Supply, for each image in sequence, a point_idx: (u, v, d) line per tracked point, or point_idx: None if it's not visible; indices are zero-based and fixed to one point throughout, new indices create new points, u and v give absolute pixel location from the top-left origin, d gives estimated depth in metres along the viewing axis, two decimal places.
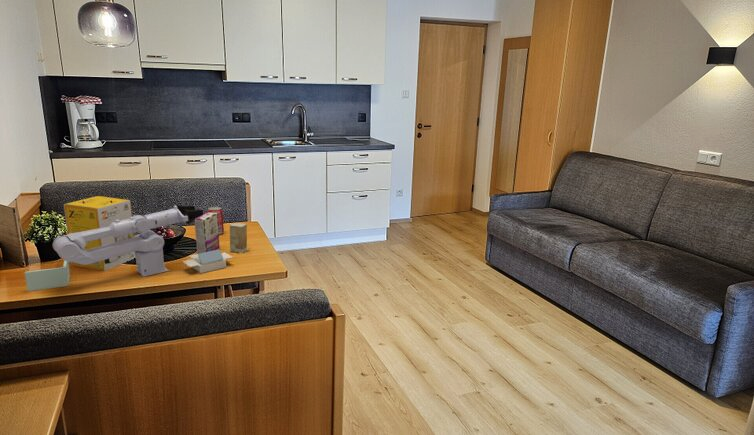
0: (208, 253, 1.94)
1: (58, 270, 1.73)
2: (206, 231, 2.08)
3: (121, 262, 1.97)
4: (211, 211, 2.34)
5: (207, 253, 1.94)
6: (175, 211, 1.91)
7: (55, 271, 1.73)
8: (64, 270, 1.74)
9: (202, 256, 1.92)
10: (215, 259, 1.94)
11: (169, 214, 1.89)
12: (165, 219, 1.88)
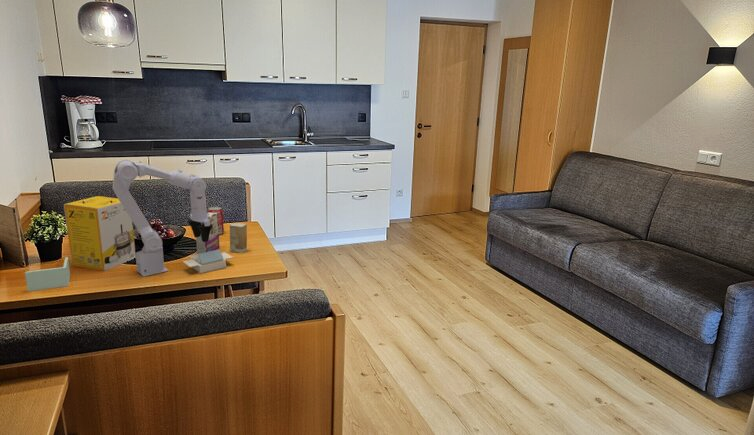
0: (208, 253, 1.94)
1: (58, 270, 1.73)
2: None
3: (121, 262, 1.97)
4: (211, 211, 2.34)
5: (207, 253, 1.94)
6: (206, 216, 1.96)
7: (55, 271, 1.72)
8: (64, 270, 1.74)
9: (202, 256, 1.92)
10: (215, 259, 1.94)
11: (205, 210, 1.95)
12: (201, 206, 1.93)
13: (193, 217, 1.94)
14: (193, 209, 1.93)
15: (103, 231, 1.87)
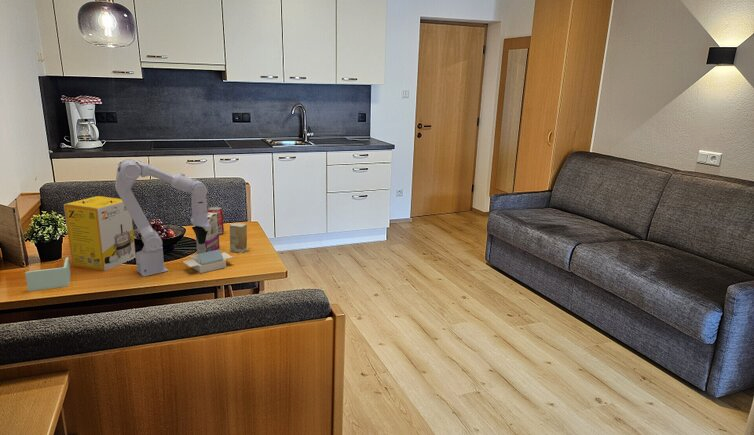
0: (208, 253, 1.94)
1: (58, 270, 1.73)
2: None
3: (121, 262, 1.97)
4: (211, 211, 2.34)
5: (207, 253, 1.94)
6: (207, 220, 1.97)
7: (55, 271, 1.72)
8: (64, 270, 1.74)
9: (202, 256, 1.92)
10: (215, 259, 1.94)
11: (206, 214, 1.95)
12: (201, 211, 1.93)
13: (194, 221, 1.94)
14: (194, 214, 1.93)
15: (103, 231, 1.87)
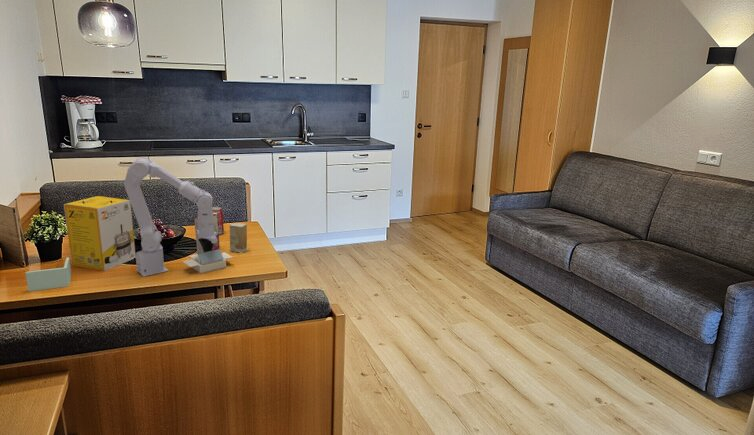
0: (208, 253, 1.94)
1: (59, 270, 1.73)
2: None
3: (121, 262, 1.97)
4: None
5: (207, 253, 1.94)
6: (213, 232, 1.94)
7: (56, 271, 1.72)
8: (65, 270, 1.74)
9: (202, 256, 1.92)
10: (215, 259, 1.94)
11: (212, 226, 1.93)
12: (206, 223, 1.90)
13: (200, 234, 1.91)
14: (200, 226, 1.90)
15: (103, 231, 1.87)
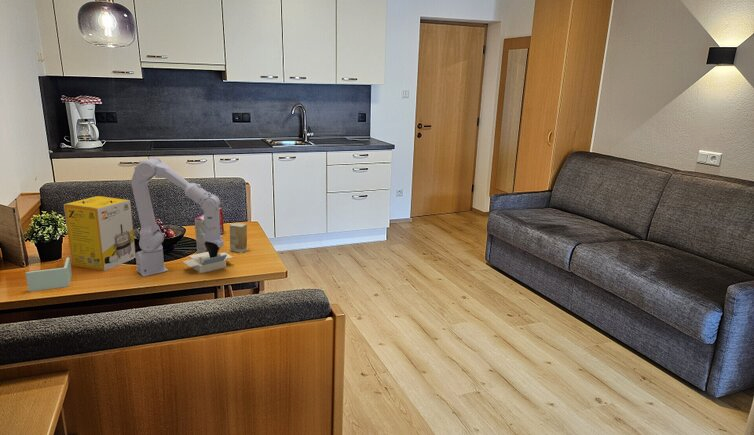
0: (214, 259, 1.91)
1: (59, 270, 1.72)
2: None
3: (121, 262, 1.97)
4: None
5: (214, 258, 1.91)
6: (219, 236, 1.90)
7: (56, 271, 1.72)
8: (65, 270, 1.73)
9: (207, 261, 1.89)
10: (216, 261, 1.94)
11: (219, 230, 1.89)
12: (210, 226, 1.86)
13: (206, 237, 1.88)
14: (206, 229, 1.87)
15: (103, 231, 1.87)
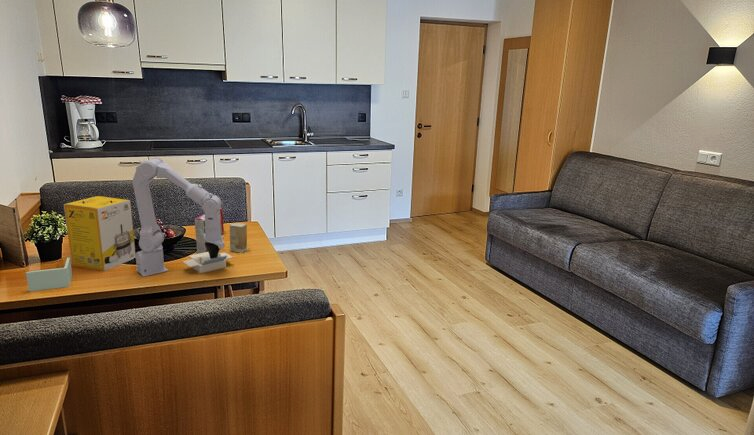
0: (214, 259, 1.91)
1: (59, 270, 1.72)
2: None
3: (121, 262, 1.97)
4: None
5: (214, 259, 1.90)
6: (220, 237, 1.90)
7: (56, 271, 1.72)
8: (65, 270, 1.73)
9: (207, 262, 1.89)
10: (216, 261, 1.94)
11: (219, 231, 1.89)
12: (211, 227, 1.86)
13: (207, 238, 1.87)
14: (207, 230, 1.86)
15: (103, 231, 1.87)
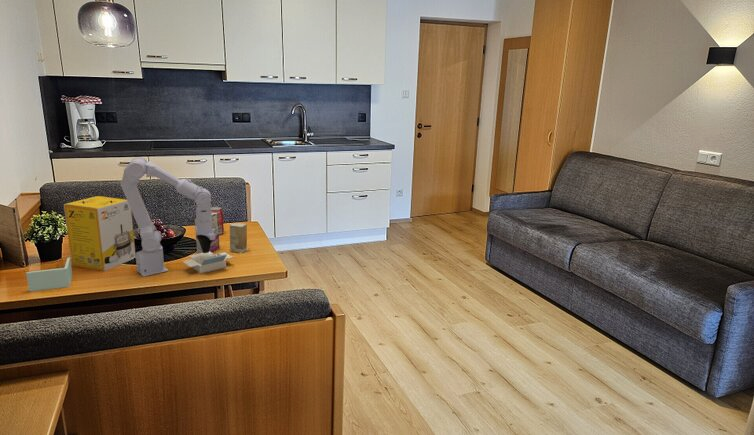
0: (214, 258, 1.91)
1: (59, 271, 1.72)
2: None
3: (121, 262, 1.97)
4: None
5: (214, 258, 1.91)
6: (212, 229, 1.94)
7: (56, 272, 1.72)
8: (65, 271, 1.73)
9: (207, 261, 1.89)
10: (216, 261, 1.94)
11: (211, 223, 1.93)
12: (204, 220, 1.90)
13: (198, 230, 1.92)
14: (198, 222, 1.90)
15: (103, 231, 1.87)
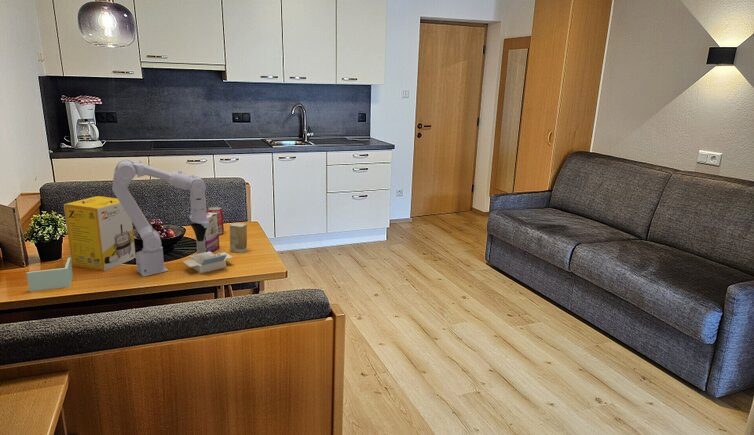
0: (214, 258, 1.91)
1: (60, 271, 1.72)
2: (206, 231, 2.08)
3: (121, 262, 1.97)
4: (211, 211, 2.34)
5: (214, 258, 1.91)
6: (206, 217, 1.95)
7: (57, 272, 1.72)
8: (66, 271, 1.73)
9: (207, 261, 1.89)
10: (216, 261, 1.94)
11: (205, 211, 1.93)
12: (200, 207, 1.91)
13: (192, 218, 1.92)
14: (193, 210, 1.91)
15: (103, 231, 1.87)
